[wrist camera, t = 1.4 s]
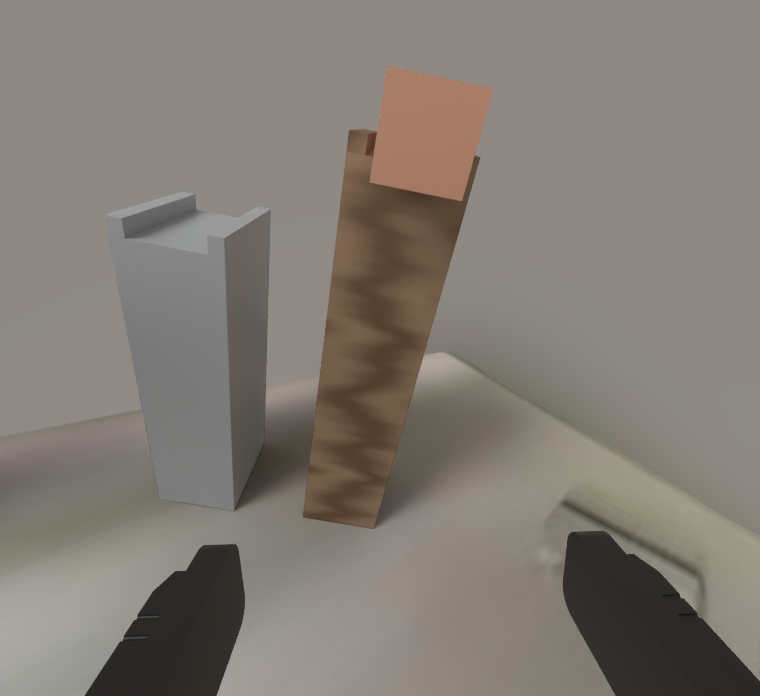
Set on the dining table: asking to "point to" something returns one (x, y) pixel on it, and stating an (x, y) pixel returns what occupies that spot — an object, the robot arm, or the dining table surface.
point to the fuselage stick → (428, 133)
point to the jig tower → (375, 332)
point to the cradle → (196, 340)
